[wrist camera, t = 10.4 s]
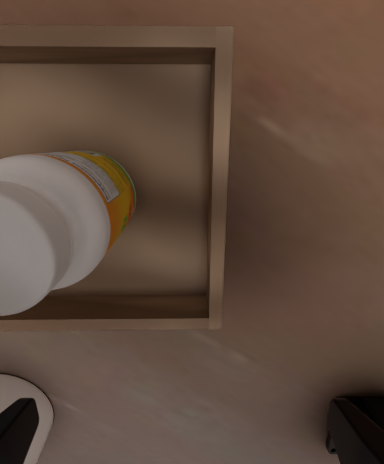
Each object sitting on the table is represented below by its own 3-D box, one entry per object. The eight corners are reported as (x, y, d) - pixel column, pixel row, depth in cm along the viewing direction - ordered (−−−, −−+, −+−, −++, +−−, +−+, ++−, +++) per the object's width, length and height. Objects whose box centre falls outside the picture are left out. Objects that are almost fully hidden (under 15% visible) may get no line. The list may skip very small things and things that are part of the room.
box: (216, 298, 20) (221, 328, 17) (1, 300, 20) (-36, 331, 17) (224, 52, 15) (234, 26, 12) (-62, 50, 15) (-134, 24, 12)
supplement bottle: (98, 251, 18) (6, 366, 9) (32, 193, 17) (-160, 255, 7) (155, 197, 17) (118, 261, 8) (89, 130, 16) (-52, 110, 6)
